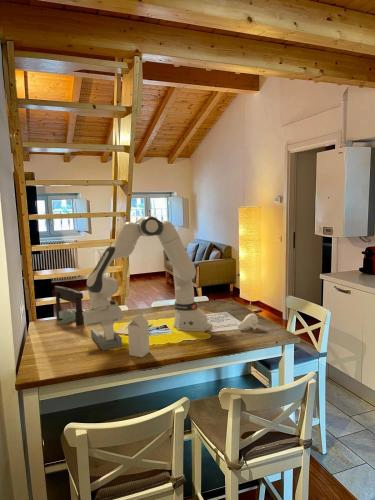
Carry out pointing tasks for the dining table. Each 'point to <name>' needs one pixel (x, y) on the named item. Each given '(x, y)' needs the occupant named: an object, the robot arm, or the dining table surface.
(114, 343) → the switch panel
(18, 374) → the dining table surface
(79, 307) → the stool
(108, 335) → the switch knob
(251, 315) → the white rounded lump
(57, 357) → the dining table surface
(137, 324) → the milk carton
